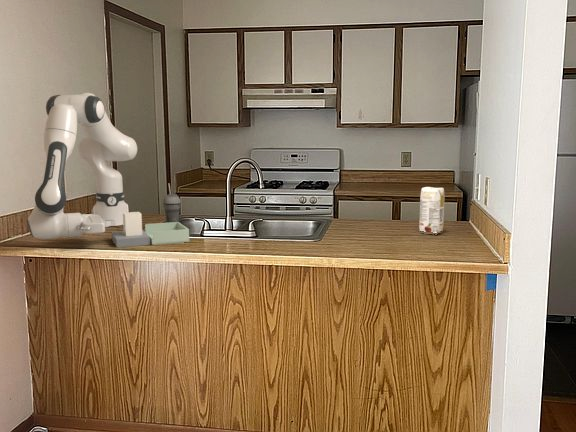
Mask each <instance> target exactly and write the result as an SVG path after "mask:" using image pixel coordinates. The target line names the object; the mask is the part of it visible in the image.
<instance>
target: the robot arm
mask: <svg viewBox="0 0 576 432" xmlns="http://www.w3.org/2000/svg"><path fill="white" fill-rule="evenodd" d="M45 110H46V111H45V112H46V115H47V118H46V121H45V128H44V133H43V148H44V152H45V154H46V155H45V156H46V163H45V170H44V176H43V180H42V183H41V184H40V186H39V188H38V189H37V190H36V193H35V195H34V201H35V204H34V207H33V209H32V212H31V213H30V215H29V216H28V217H27V219H26V223H27V227H28V230H29V233H30V235H31V236H32V238H35V239H37V240H38V239H39V240H53V239H58V238H82V236H83V234H102V233H105V232H106V228H108V227H114V226H115V227H116V226H123V213H126V212H129V205H128V203H126V202H125V192H124V187H123V185H124V184H123V175H122V173H120V171H118V170H117V169H115V168H113V167H112V166H111V163H110V162H126V161H131V160H134V158H136V156H137V153H138V144H137V143H136V140H135V139H134V138H132V137H130V136H129V135H125V134H124V133H122V132H121V131H120V130H119V129H118V128H116V127H115V126H114V125H113V124H112V122H111V120H110V118H109V116H108V113H107V112H106V110H105V105H104V101H103V100H102V99H101V97H100V98H99V97H98V96H96V95H95V94H94V93H91V92H83V93H80V94H76V93H75V94H63V95H60V94H56V95H52V96H50V97H49V98H48V100H47V101H46V104H45ZM78 124H80V125H81V127H82V129H83V130H84V132H85V134H86V137H82V138H81V140H80V141H79V143H78V145H77V147H78V148H77V149H78V153H79V156H80V157H81V158H82V159H83V160H84V161H86V162H87V163H88V164H89V165H90V167H91V169H92V171H93V173H94V177H95V185H96V193H95V200H96V202H95V204H94V206H93V208H92V209H91V214H87V213H83V214H82V213H81V212H70V213H68V212H67V213H64V209H65V205H66V204H67V194H66V192H65V189H64V175H65V170H66V164H67V160H68V158H69V157H70V156H71V155H72V154H73V151H74V148H75V144H76V140H77V134H78V133H77V132H78Z"/></svg>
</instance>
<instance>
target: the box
mask: <svg viewBox="0 0 576 432" xmlns="http://www.w3.org/2000/svg"><path fill="white" fill-rule="evenodd" d="M144 229H145V230H144V231H145V232H146V233H147V234H148V235H149V236H150V245H152V246H157V245H158V246H159V245H170V244H171V245H172V244H174V245H175V244H183V243H184V242H187V243H190V229H189V228H188V227H187V226H185V225H183V224H182V223H181V222H180V221H179V222H170V223H166V222H160V223H159V222H158V223H144Z"/></svg>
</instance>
